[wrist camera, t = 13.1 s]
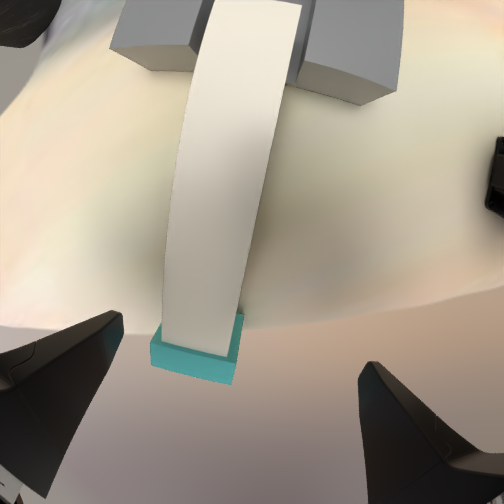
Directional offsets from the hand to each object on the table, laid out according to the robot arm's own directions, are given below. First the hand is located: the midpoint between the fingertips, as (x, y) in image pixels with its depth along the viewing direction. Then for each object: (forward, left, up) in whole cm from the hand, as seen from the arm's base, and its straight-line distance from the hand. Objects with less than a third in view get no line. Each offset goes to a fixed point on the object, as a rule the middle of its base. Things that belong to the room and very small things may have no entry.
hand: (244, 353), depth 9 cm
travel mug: (+26, -19, -11) cm, 34 cm away
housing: (+3, -17, -10) cm, 20 cm away
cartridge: (+3, -3, -10) cm, 11 cm away
